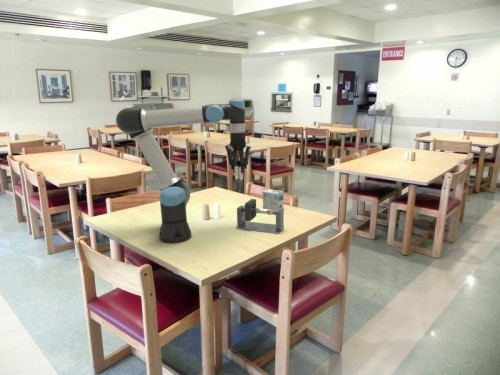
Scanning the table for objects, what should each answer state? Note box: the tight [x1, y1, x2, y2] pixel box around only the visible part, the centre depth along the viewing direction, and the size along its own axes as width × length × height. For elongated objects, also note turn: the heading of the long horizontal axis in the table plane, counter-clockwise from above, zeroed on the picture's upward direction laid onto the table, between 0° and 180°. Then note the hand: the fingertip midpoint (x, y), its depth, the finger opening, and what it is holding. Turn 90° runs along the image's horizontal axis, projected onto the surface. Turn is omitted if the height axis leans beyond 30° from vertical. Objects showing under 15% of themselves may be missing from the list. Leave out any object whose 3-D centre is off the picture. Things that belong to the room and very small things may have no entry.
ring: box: [244, 198, 257, 222], centre depth 187 cm, size 2×9×9 cm, turn 158°
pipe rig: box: [236, 205, 285, 235], centre depth 187 cm, size 23×10×10 cm, turn 68°
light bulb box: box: [262, 188, 285, 210], centre depth 218 cm, size 11×7×11 cm, turn 58°
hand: (239, 179), depth 186 cm, fingers open, 2 cm apart
